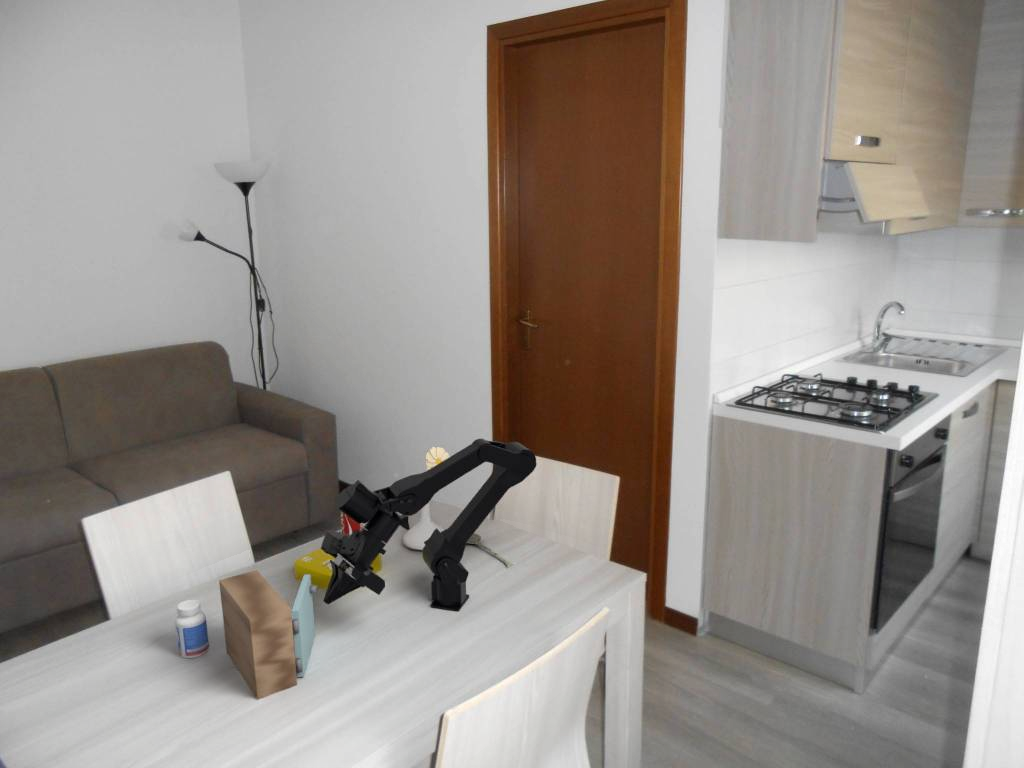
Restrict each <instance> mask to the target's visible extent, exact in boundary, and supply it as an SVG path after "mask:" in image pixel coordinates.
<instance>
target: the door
mask: <svg viewBox="0 0 1024 768" xmlns="http://www.w3.org/2000/svg"><path fill="white" fill-rule="evenodd" d="M317 592H318V587H317V585H311V575H310V574H308V575H304V576H303V579H302V581H301V582H300V586H299V588H298V591H297V594H296V596H295V599H294V603H293V606H292V608H291V617H292V629H293V641H294V653H295V665H296V677H297V678H304V677H305V675H306V671H307V667H308V662H309V659H310V656H311V652H312V648H313V645H314V642H315V637H316V631H315V628H316V626H315V618H314V617H315V616H314V606H313V605H314V603H313V601H314V600H313V594H317Z"/></svg>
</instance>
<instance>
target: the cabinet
mask: <svg viewBox="0 0 1024 768" xmlns="http://www.w3.org/2000/svg"><path fill="white" fill-rule="evenodd" d="M218 582H219V583H218V584H219V594H220V600H221V601H220V603H221V613H222V620H223V621H222V622H223V630H224V638H225V639H224V640H225V648H226V654H227V655H228V657H229V658H230V660H231V661H232V662H231V663H233V665H234V666H235V668H236V669H237V671H238V672H239V674H240V675H241V677H242V678H243V680H244V681H245V683H246V684H247V686H248V687H249V688H250V691H252V694H253V695H254V696H255V698H256V699H257V700H260V699H263V698H267V697H268V696H271V695H274V694H276V693H277V694H278V693H279V692H283V691H285V690H288V689H291V688H293V687H296V686H298V680H297V678H298V677H297V672H296V662H295V647H294V635H293V626H292V612H291V611H292V608H291V606H290V604H288V603H287V602H286V601H285V600H284V599H283V598H282V596H281V595H280V594H279V593H278V592H277V591H276V589H274V588H273V587H272V585H271V584H270V583H269V582H268V581H267V580H266V578H265V577H264V576H263V575H262V574H261V573H260V572H259V571H258V570H257V569H254V570H251V571H247V572H244V573H241V574H238V575H234V576H230V577H226V578H223V579H218Z"/></svg>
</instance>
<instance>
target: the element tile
mask: <svg viewBox="0 0 1024 768" xmlns="http://www.w3.org/2000/svg"><path fill="white" fill-rule="evenodd" d="M330 560H332V561H334V560H335V558H334V557H333V556H331V555H330V554H327V553H325V552H324V551H323V550H322V549H321V547H319V548H317V549H315V550H313V551H312V552H310V553H307V554H304V555H303V556H301V557H299V558H297V559H295V561H294V563H293V564H294V565H293V566H294V576H295V579H296V580H297V581H299V580H300V581H301V582H302V579H303V576H304V575H308V574H310V575H311V585H317V586H318V587H317V588H320V589H323V590H326V591H327V588H328V585H329V582H330V580H331V576H332V566H331V563H330ZM371 567H373V568H374V569H373V570H372V571H373V572H374V573H376V574H377V573H379V572H380V571H381V570H382V554H381V553H379V555H378V556H377V558H376V559H375V560H374V562H373V563H372V564H371ZM300 581H299V582H300Z"/></svg>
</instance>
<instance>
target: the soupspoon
mask: <svg viewBox="0 0 1024 768" xmlns="http://www.w3.org/2000/svg"><path fill="white" fill-rule="evenodd" d="M481 541H482V536H481V535H480V534H478V533H475V532H474V534H473V535H472V536H471V537H470V539H469V540H468V541H467V543H466V544H471V545H472V544H473V545H477V546H479V547H481V548H483V549H484V550H486V551H487V552H490V553H491V554H493V555H494V556H495V557H497V558H499V559H500V560H501V562H502V563H504V565H505V566H506V569H510V568H513V567H512V566H514V563H513V562H510V561H509V560H507V559H506V558H505V557H502V555H500V554H499V553H497V552H496V551H494V550H493V549H491V548H489V547H488V546H487V545H484V544H483V543H481ZM509 567H510V568H509Z"/></svg>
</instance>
